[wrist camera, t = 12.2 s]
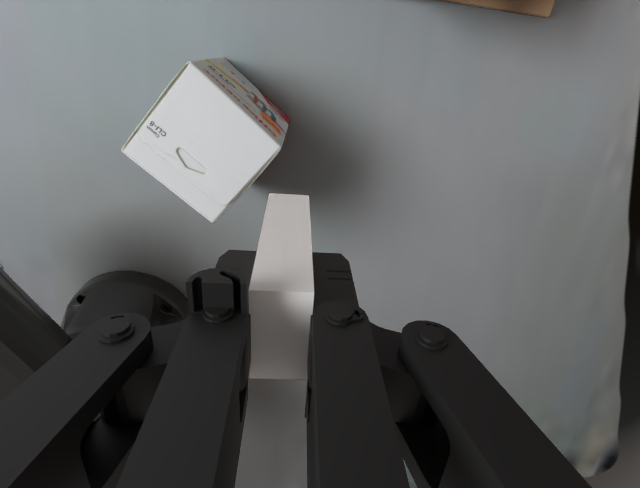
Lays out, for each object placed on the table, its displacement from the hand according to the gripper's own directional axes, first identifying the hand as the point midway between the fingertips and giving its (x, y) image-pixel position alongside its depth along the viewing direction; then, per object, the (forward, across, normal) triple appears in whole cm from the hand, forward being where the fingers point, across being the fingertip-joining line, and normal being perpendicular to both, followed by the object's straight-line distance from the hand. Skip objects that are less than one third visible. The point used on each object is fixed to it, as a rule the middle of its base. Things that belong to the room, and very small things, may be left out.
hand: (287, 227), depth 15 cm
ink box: (+26, -6, -1) cm, 27 cm away
